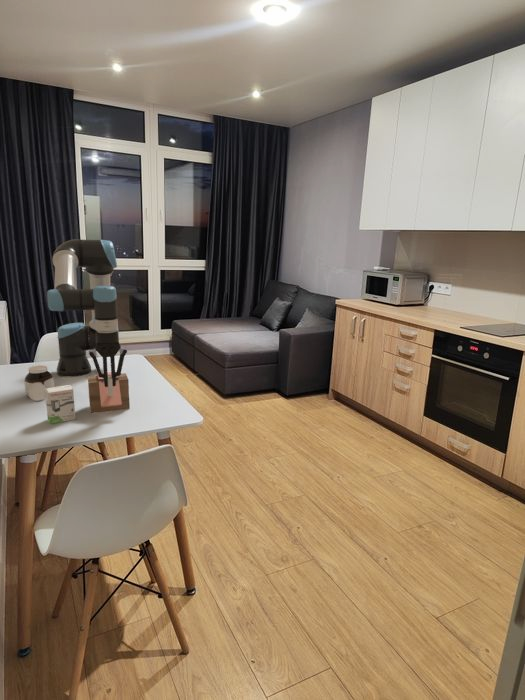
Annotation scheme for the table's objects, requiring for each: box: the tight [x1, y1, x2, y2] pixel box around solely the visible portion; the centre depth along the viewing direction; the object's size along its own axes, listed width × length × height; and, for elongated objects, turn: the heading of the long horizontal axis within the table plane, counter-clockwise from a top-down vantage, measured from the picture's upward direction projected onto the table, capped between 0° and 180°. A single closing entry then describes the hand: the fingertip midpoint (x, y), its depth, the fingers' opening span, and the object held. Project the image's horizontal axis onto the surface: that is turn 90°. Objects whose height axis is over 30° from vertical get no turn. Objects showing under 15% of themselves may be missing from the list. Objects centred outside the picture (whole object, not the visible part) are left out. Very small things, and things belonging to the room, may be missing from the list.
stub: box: [99, 380, 122, 407], centre depth 160 cm, size 10×7×1 cm
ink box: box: [45, 384, 77, 425], centre depth 155 cm, size 9×5×12 cm, turn 125°
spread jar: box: [24, 364, 55, 402], centre depth 176 cm, size 12×11×12 cm
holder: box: [87, 371, 131, 414], centre depth 167 cm, size 8×14×13 cm, turn 113°
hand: (110, 394), depth 158 cm, fingers closed
